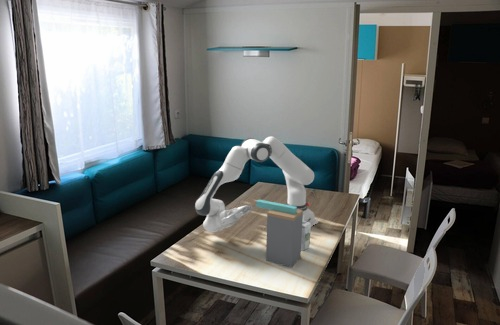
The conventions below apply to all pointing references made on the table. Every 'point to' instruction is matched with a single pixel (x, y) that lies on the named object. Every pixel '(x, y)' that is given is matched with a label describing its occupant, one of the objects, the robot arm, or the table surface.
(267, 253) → the pedestal
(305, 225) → the syrup box
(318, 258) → the table surface
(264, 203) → the teal batten
